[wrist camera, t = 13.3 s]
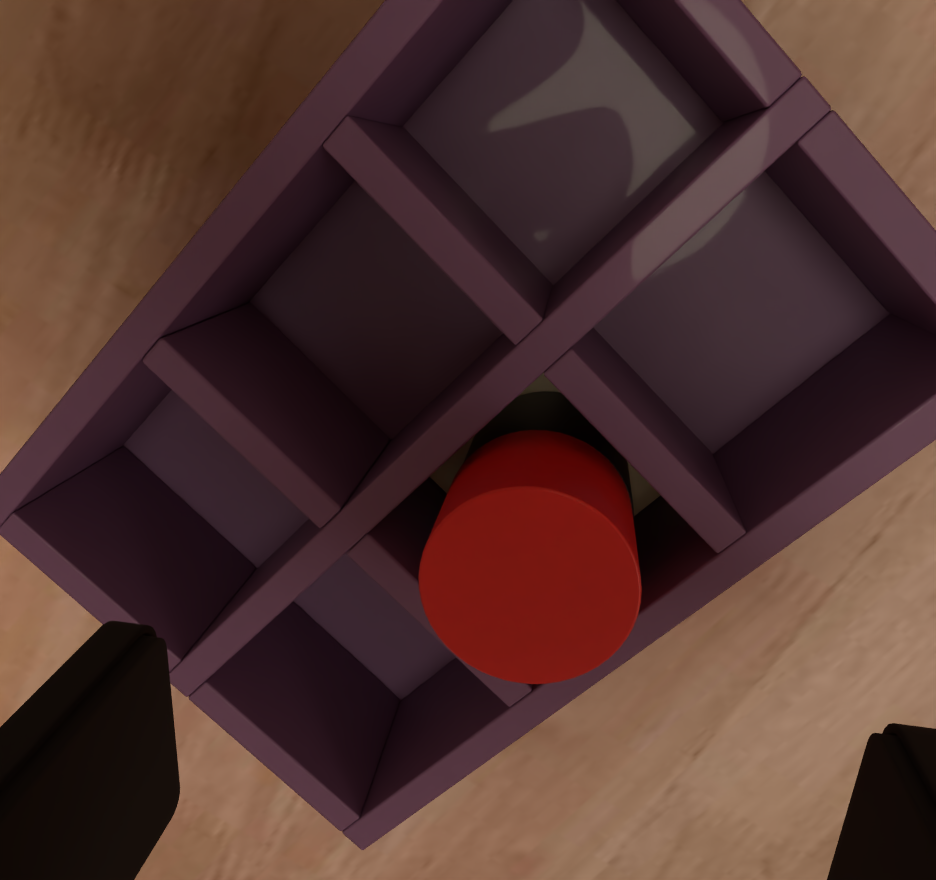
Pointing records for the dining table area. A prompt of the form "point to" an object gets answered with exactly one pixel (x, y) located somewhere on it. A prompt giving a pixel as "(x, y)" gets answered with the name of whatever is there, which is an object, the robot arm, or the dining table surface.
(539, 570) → the cylinder
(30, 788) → the robot arm
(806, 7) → the dining table surface
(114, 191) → the dining table surface
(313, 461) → the token box
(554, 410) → the black token
